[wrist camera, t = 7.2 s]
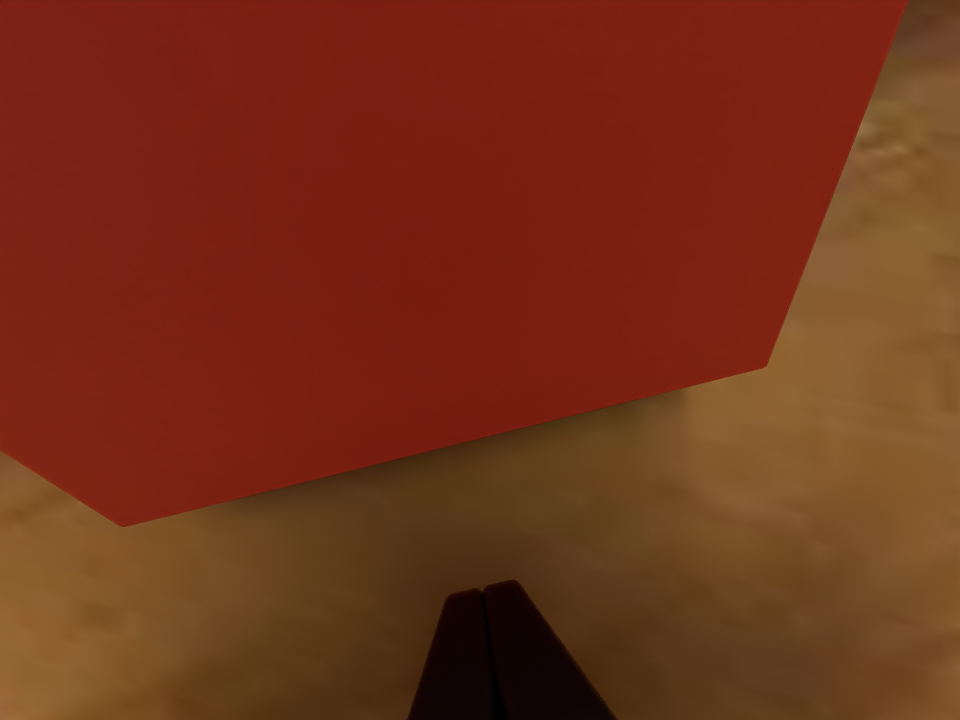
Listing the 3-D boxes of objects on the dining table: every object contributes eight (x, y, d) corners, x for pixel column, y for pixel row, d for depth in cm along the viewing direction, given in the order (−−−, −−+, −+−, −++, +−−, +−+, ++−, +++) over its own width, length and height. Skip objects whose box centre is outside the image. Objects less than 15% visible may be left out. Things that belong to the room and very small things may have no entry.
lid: (-587, -16, 6) (-644, 48, 6) (994, -400, 6) (1053, -364, 6) (122, 490, 15) (120, 529, 15) (751, 334, 15) (768, 368, 15)
